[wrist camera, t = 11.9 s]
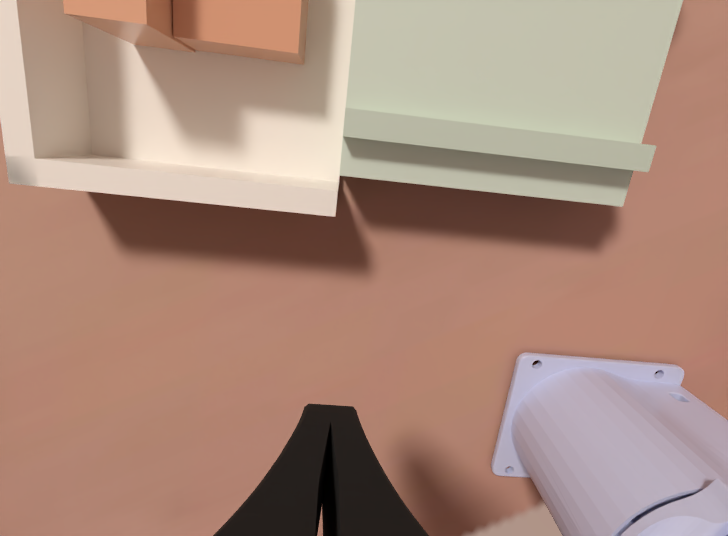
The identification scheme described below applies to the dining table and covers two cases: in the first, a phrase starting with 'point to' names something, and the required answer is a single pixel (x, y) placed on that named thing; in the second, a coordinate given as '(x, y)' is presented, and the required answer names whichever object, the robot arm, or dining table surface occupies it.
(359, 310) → the dining table surface
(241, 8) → the tile
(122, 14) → the tile
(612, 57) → the two-ridged green plate
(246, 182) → the box
